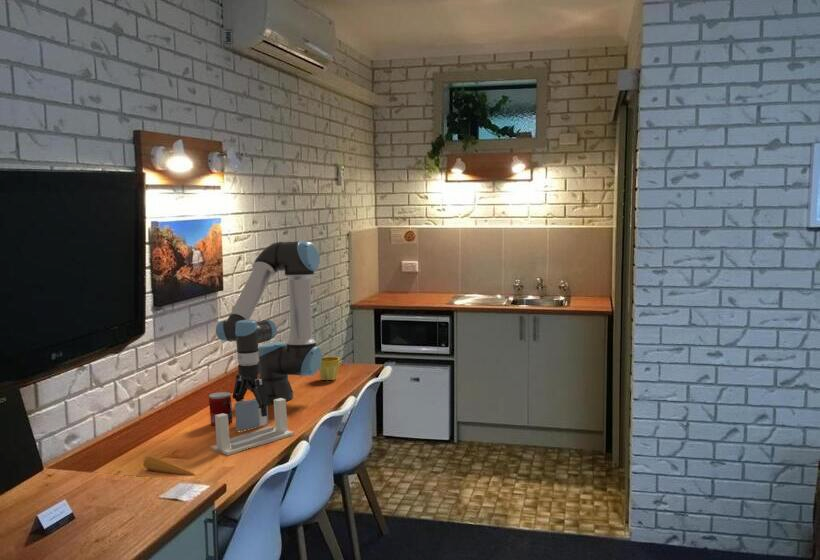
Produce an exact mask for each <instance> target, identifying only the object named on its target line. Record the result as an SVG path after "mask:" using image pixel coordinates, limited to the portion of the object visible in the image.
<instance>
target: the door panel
mask: <svg viewBox="0 0 820 560" xmlns="http://www.w3.org/2000/svg"><path fill="white" fill-rule="evenodd" d="M266 403H267V402H266ZM258 407H259V404H258V402H257V400H256V398H252V399H248V400H244V402H240V403H237V402H236V403H234V414H235V415H234V416H235V428H236V429H235V430H237V431H240V432H241V431H244V430H248V429H251V428H255V427H258V428H260V427H259V411H258ZM268 408H269V407H268V406H267V407H266V409H267V424H266V425H265V426H268V424H269V423H270V422H269V409H268ZM269 425H270V424H269ZM262 427H264V425H263V426H262ZM255 429H256V428H255ZM251 430H252V429H251ZM237 431H236V432H237ZM248 431H249V430H248ZM240 432H239V433H240ZM241 433H242V432H241Z"/></svg>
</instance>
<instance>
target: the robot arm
mask: <svg viewBox="0 0 820 560" xmlns="http://www.w3.org/2000/svg"><path fill="white" fill-rule="evenodd" d="M319 264H320V253H319V251H318V248H317V247H316V245H315V244H314V243H312V242H310V241H306V240H305V241H302V240H300V241H277V242H274V243H272V244H270V245H269V246H268V245H267V247H266V248H264V249H263V250H262V251H261V252H260V253H259V255H258V256H257V257H256V258H255V260H254V262H253V264H252V266H251V269H252V271H251V273H250V275H249V277H248V279H247V280H246V283H245V285H244V286H243V288H242V291H241V292H240V294H239V297H238V298H237V300H236V303H235V304H234V306H233V308H232V309H231V312H230V314H229V316H228V318H227V320H221V321H218V322H217V325H216V328H215V334H216V337H217V338H218V340H220V341H225V342H236V343H235V344H236V354H237V356H236V357H237V364H238V365H237V371H238V372H237V373H238V374H236V375H235V384H234V388H233V393H232V395H231V398H232V399H234V400H235V402H236V403H240V402H244V401H245V398H244V397H245V396H246V393H247V391H250V393H252V394H253V396H254V399H256V400H257V402H258V404H259V407H258V411H259V426H262V427H264V426H263V425H265V426H267V425H266V424H267V409H266V407H267V406H271V404H274V400H275V399H279V398H283V399H286V402H287V401H291V400H292V399H293V398H294V390H293V388H292V386H291V383H290V381H289V376H302V377H306V376H308V377H309V376H314V375H315V374H316V373H318V371H319V368H320V366H321V362H322V357H323V353H322V349H321V348H320V347H318V346H317V341H316V340H315V339H314V338H313V326H312V325H313V322H312V318H313V317H312V288H311V286H312V285H311V278H312V277H314V276H315V271H316V270H318V268H319ZM280 271H284V276H285V277H286V278H287V279H288V289H289V290H288V291H289V294H288V295H289V322H290V323H289V324H290V326H289V327H290V339H289V340H288V341H287V342H286V341H277V342H271V343H270V342H269V341H270V340H272V339H274V338H275V337H276V336H277V333H278V328H277V325H276V323H275V322H274V321H273V320H270V319H265V320H261V321H258V320H257V321H256V319H251V318H252V316H253V314H254V311H255V310H256V308H257V306H258V304H259V302H260V300H261V298H262V296H263V294H264V292H265V290H266V288H267V286H268V284H269V283H270V279H273V278H274V277H275V276H276V273H277V272H280ZM265 342H269V343H267V344H262V343H265ZM260 344H262V345H261V346H259V345H260ZM258 376H259V377H258ZM266 402H267V403H266Z"/></svg>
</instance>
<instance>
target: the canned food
mask: <svg viewBox="0 0 820 560" xmlns="http://www.w3.org/2000/svg"><path fill="white" fill-rule="evenodd" d="M208 403H209V415H210V416H209V417H210V425H211V426H213V427H216V426H215V415H218V414H222V413H224V414H227V415H228V424H230V423H231V424H233V406H232V394H231V392H228V391H218V392H213V393H211V394H208ZM231 424H230V425H231Z"/></svg>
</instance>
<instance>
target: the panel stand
mask: <svg viewBox="0 0 820 560" xmlns="http://www.w3.org/2000/svg"><path fill="white" fill-rule="evenodd" d="M273 412H274V413H273V414H274V426H275V427H274V426H272V425H271V426H267V427H263V428H261V429H258V430H253V431H250V432H246V433H243V434H241V435H237V436H234V437H231V438H230V427H229V426H230V425H229V424H228V415H227V414H224V413H222V414H218V415H215V426H214V427H215V437H216V438H215V439H216V444H215V445H211V450H212V449H213V451H215V452H218V453H220V452H221V453H220V454H223V453H224V455H226V456H231V455H234V454H237V453H236V452H238V453H240V452H239V451H241V452H243V451H242V450H244V451H246V450H245V449H247V450H249V449H248V448H250V449H252V448H251V447H254V448H256V447H255V446H257V447H259V445H260V446H264V445H266V444H269V443H272V442H276V441H278V440H282V439H286V438H287V437H291V436H295V433H294V431H291V430H289V429H288V417H287V415H288V413H287V401H286V399H283V398H279V399H275V400H274V403H273ZM233 453H234V454H233ZM230 454H231V455H230Z"/></svg>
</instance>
